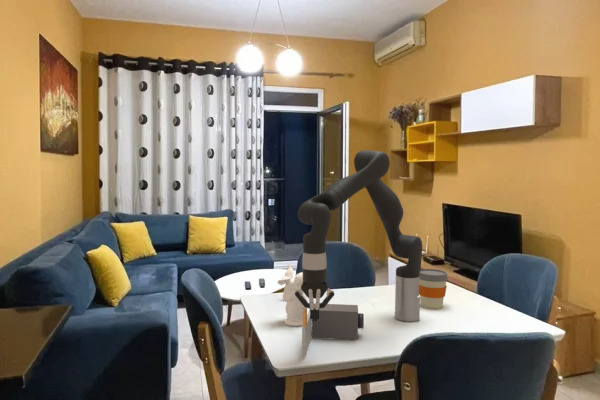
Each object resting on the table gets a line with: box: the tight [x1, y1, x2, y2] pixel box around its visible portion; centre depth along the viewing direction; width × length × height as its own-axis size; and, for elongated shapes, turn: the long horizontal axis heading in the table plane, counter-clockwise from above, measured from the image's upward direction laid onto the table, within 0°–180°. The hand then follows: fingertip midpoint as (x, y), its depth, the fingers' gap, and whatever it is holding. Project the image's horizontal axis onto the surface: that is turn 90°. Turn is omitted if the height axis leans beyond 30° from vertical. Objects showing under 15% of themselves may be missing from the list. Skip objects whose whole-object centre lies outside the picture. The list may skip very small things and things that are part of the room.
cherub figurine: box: [277, 263, 309, 327], centre depth 174 cm, size 12×12×22 cm
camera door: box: [301, 308, 312, 356], centre depth 150 cm, size 17×1×14 cm, turn 172°
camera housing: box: [311, 302, 365, 341], centre depth 162 cm, size 18×8×10 cm, turn 84°
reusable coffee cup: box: [419, 268, 448, 310], centre depth 198 cm, size 13×13×15 cm
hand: (314, 320), depth 143 cm, fingers closed
